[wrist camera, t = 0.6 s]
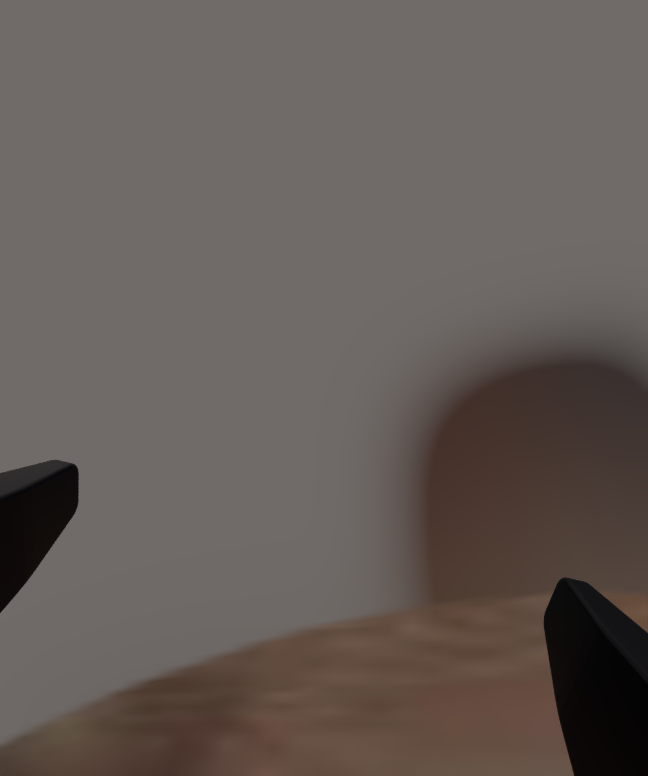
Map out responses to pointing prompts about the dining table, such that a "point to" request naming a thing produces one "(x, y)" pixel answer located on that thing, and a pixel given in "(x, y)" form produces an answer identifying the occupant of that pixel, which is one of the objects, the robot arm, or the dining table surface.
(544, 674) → the dining table surface
